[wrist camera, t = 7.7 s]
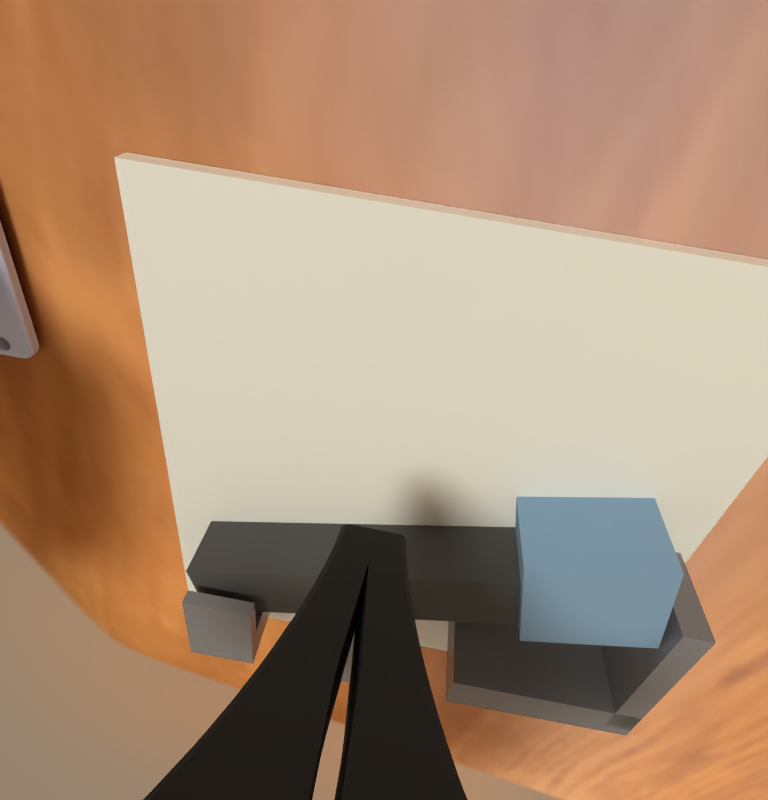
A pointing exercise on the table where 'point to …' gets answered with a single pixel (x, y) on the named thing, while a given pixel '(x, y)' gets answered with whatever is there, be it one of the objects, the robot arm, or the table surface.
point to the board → (442, 395)
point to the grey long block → (482, 569)
